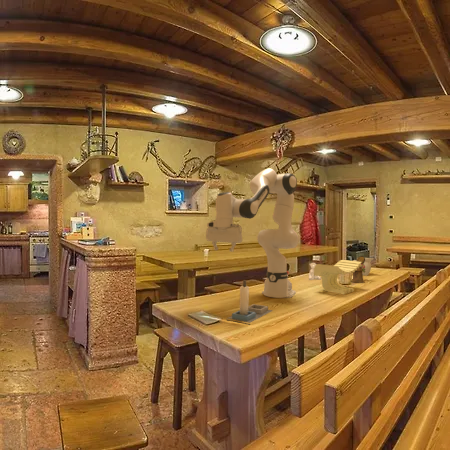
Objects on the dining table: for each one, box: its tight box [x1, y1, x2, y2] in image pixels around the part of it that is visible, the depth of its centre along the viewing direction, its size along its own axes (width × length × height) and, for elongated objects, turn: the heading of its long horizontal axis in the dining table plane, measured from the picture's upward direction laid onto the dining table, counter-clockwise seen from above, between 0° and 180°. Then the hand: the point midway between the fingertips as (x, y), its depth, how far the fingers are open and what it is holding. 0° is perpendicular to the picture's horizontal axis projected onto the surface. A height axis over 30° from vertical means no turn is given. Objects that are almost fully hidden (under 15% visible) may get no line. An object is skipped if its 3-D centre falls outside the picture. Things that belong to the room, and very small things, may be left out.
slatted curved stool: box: [314, 259, 361, 295], centre depth 234 cm, size 30×16×18 cm, turn 134°
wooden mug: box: [351, 255, 366, 284], centre depth 266 cm, size 9×14×18 cm, turn 139°
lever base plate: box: [225, 303, 274, 326], centre depth 175 cm, size 24×12×3 cm, turn 148°
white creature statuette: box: [308, 262, 322, 281], centre depth 274 cm, size 10×9×12 cm
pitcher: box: [352, 257, 375, 277], centre depth 295 cm, size 11×18×14 cm, turn 46°
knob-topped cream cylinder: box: [239, 279, 250, 316], centre depth 169 cm, size 4×4×17 cm
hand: (223, 250), depth 190 cm, fingers open, 8 cm apart
